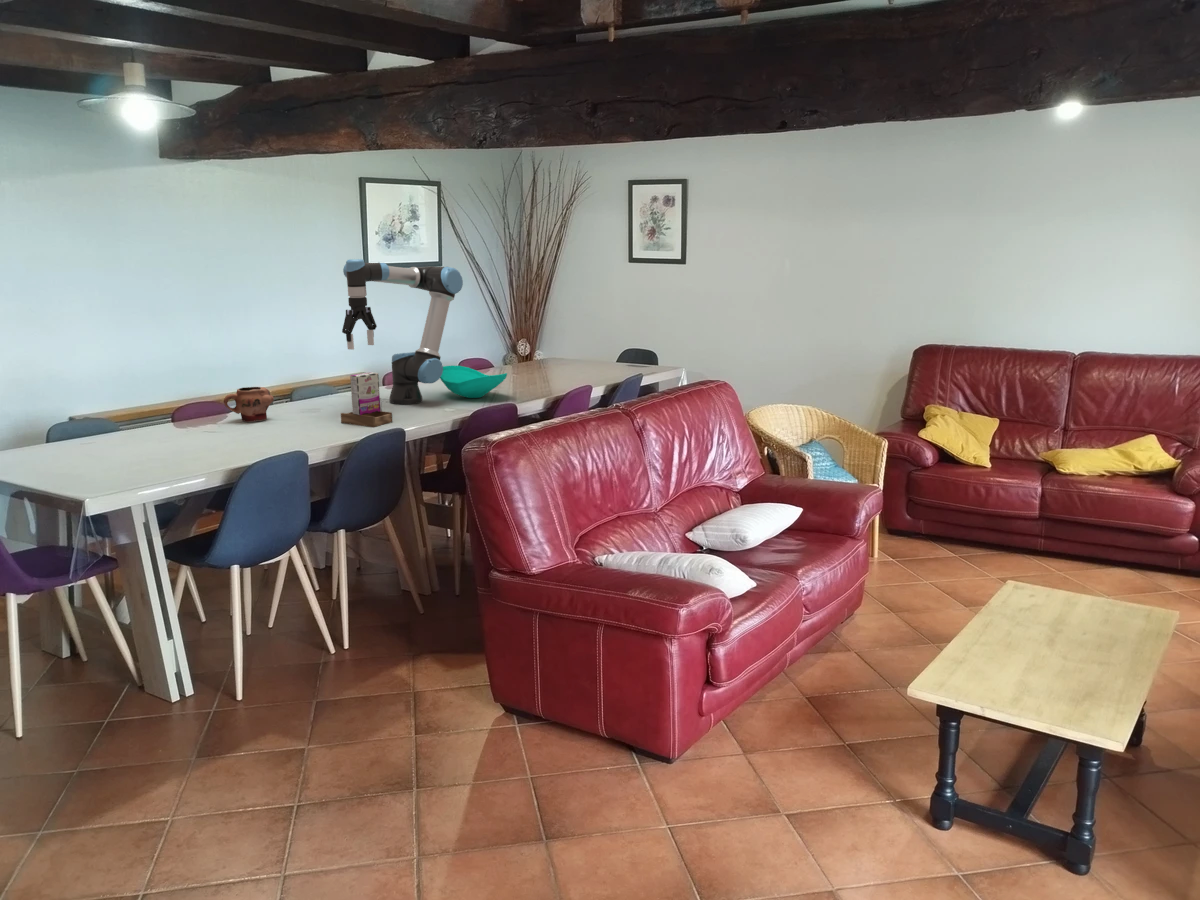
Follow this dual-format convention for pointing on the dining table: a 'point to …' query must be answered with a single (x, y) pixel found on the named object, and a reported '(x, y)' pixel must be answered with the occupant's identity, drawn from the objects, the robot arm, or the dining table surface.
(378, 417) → the crate
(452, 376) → the table top decor
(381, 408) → the white rounded block
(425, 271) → the robot arm
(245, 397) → the brown sculpted mug
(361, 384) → the candy bar box
